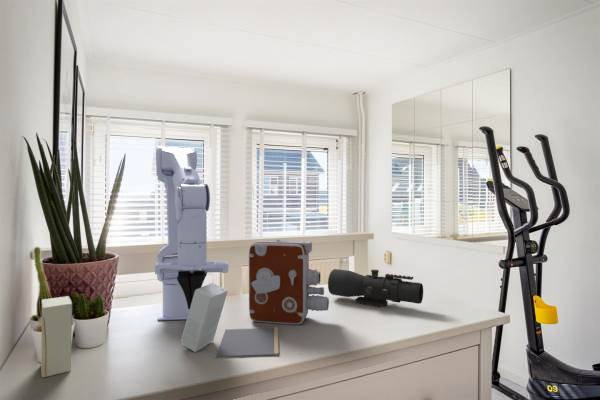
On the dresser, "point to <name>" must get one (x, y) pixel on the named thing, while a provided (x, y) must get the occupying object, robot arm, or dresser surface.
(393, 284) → the rifle scope
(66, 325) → the skincare box
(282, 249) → the cine camera
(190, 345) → the skincare box
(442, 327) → the dresser surface
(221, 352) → the rubber mat
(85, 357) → the dresser surface
